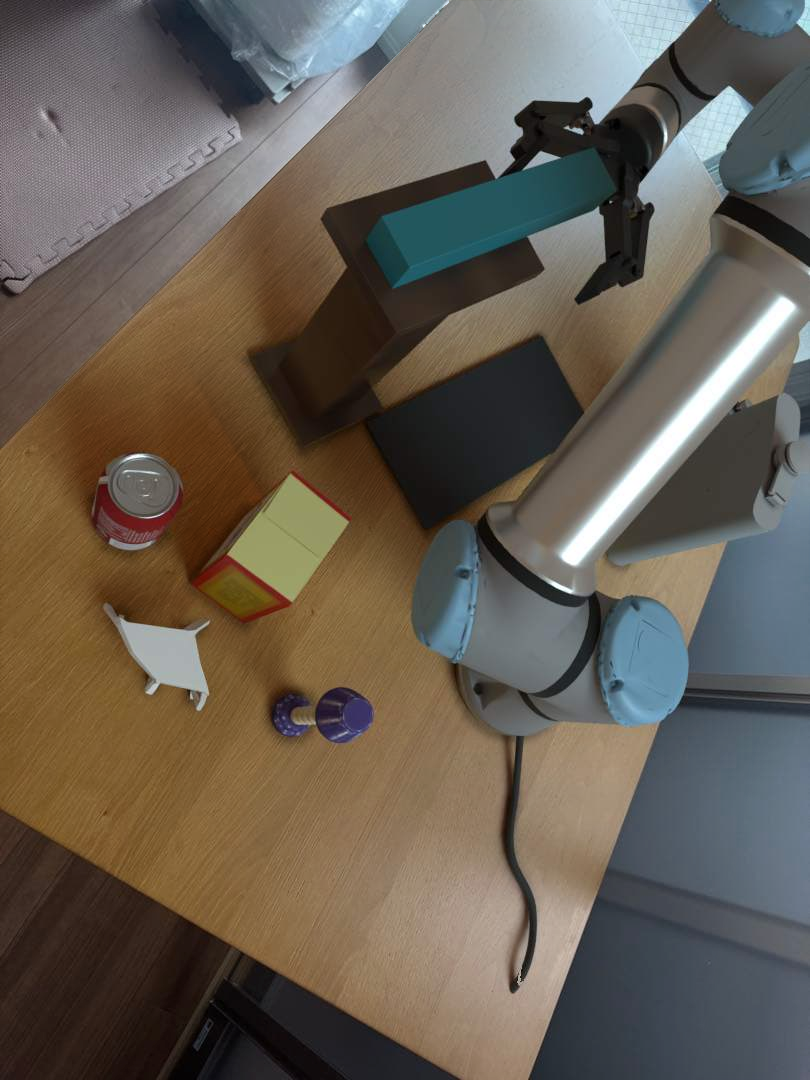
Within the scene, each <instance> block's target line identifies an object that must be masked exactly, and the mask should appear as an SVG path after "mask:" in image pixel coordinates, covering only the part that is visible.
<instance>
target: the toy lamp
mask: <svg viewBox="0 0 810 1080" xmlns="http://www.w3.org/2000/svg"><path fill="white" fill-rule="evenodd" d="M374 716H375V712H374V707H373V705H372V704H371V702H370V701H369V699H368V698H366V697H365V696H363V695H362V694H361V693H359V692H357V691H356V690H354V689H352V688H349V687H345V686H338V687H334V688H331V689H329V690H327V691H326V692H325V693H323V694H322V696H321V697H320V698H319V699H318V702H317V703H316V704H315V705H311V703H310V701H309V700H308V699H307V698H306V697H305V696H303V695H302V694H298V693H293V692H292V693H287V694H285V695H282V696H280V697H279V698H278V699H277V700H276V701H275V702H274V704H273V706H272V709H271V713H270V719H271V722H272V726H273V727H274V729H275V731H276V732H278V733H279V734H280V735H282V736H283V737H286V738H294V737H298V736H301V735H302V734H304V733H305V732H306V731H308V729H309V728H310V726H311V725H315V726H316V727H317V730H318V732H319V733H320V735H321V736H322V737H323V738H324V739H326V740H327V741H328V742H329V741H330V742H332V743H334V744H347V743H349V742H352V741H354V740H356V739H357V738H359V737H360V736H362V735H363V734H365V732H366V731H368V730H369V729H370V727H371V726H372V724H373V722H374Z"/></svg>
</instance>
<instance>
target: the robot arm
mask: <svg viewBox="0 0 810 1080" xmlns="http://www.w3.org/2000/svg"><path fill="white" fill-rule="evenodd" d="M805 7H806V0H710V1H709V2H708V3H707V5H706V6H705V7H703V9H702V10H701V12H700V13H698V14H697V16H696V17H695V18H694V19H693V20H692V21H691V23H690V24H689V25H688V26H687V27H686V28H685V30H684V31H683V32H682V33H681V34H679V36H678V37H677V38H676V39H675V40H674V41H673V42H671V43H670V44H669V46H667V48H665V50H664V51H663V52H662V53H661V54H660V55H659V56H658V57H657V58H656V59H654V60H653V62H652V63H651V64H650V65H649V66H648V67H647V68H646V69H644V71H643V72H642V74H641V75H640V76H639V77H638V79H637V80H636V82H634V84H632V86H631V88H630V89H629V90H628V91H627V92H626V93H625V94H624V95H623V96H622V98H620V100H619V101H617V103H616V104H615V105H614V106H613V107H612V108H611V109H610V110H609V111H608V113H607V114H606V115H605V116H604V117H603V118H602V119H601V120H600V122H598V123H595V122H594V120H593V118H592V115H591V113H590V110H592V109H593V107H594V104H593V103H594V102H593V100H592V99H591V97H588V96H585V97H584V98H583V99H581V100H579V101H559V100H557V101H556V100H532V101H530V103H528V104H527V105H526V106H524V108H522V109H521V110H520V111H519V112H518V113H516V114H515V115H514V117H513V122H514V124H515V126H517V127H518V128H519V129H521V130H522V135H521V136H520V137H519V138H517V139H516V141H515V143H514V144H513V145H512V146H511V147H510V149H509V153H510V155H511V157H512V158H513V159H514V161H512V163H510V165H509V166H508V167H507V168H506V169H504V171H503V172H502V173H501V174H500V175H499V176H498V177H497V178H500V177H504V176H507V175H510V174H513V173H516V172H519V171H522V170H525V168H526V167H527V166H528V165H529V164H530V162H532V161H533V160H534V158H535V157H536V156H537V155H538V154H539V153H540V152H542V153H545V154H549V155H551V156H554V157H558V158H562V157H565V156H568V155H571V154H574V153H578V152H581V151H584V150H587V149H590V148H593V147H594V148H595V149H596V151H597V153H598V155H599V157H600V159H601V161H602V162H603V164H604V166H605V168H606V170H607V172H608V174H609V175H610V177H611V179H612V181H613V183H614V185H615V187H616V189H617V190H616V191H615V192H614V193H613V194H612V195H611V196H610V197H608V198H607V199H606V200H605V201H604V202H603V203H602V204H601V205H599V206H598V213H599V215H600V216H602V217H603V237H604V253H605V256H604V257H605V261H604V262H602V263H601V264H599V265H598V266H597V268H596V269H595V270H594V272H593V273H592V275H591V276H590V277H589V279H588V280H587V281H586V282H585V284H584V285H583V287H582V288H581V289H580V291H579V292H578V293H577V294H576V296H575V297H574V301H575V303H576V304H577V306H580V305H582V304H584V303H586V302H588V301H590V300H592V299H594V298H596V297H598V296H600V295H601V294H602V293H603V292H606V291H608V290H610V289H612V288H614V287H616V286H617V285H618V286H619V287H620V288H624V287H626V286H629V285H630V284H633V283H635V282H637V281H639V280H641V279H643V278H644V274H645V267H646V257H647V248H648V241H649V240H648V239H649V231H650V230H649V229H650V222H651V220H652V217H653V215H654V214H655V211H656V209H655V205H654V204H653V202H651V201H649V202H647V203H643V201H642V200H641V198H640V196H639V195H638V194H639V191H640V190H639V189H640V184H641V183H642V182H643V181H644V180H645V178H646V177H647V176H648V175H649V174H650V172H651V171H652V170H653V168H654V167H655V166H656V164H657V162H658V161H660V159H661V158H662V157H663V155H664V154H665V153H666V151H667V150H668V148H669V147H670V145H671V144H672V143H673V141H674V140H675V139H676V138H677V136H678V135H679V134H680V132H681V131H682V130H683V129H684V128H685V127H686V126H687V125H688V124H689V123H690V122H691V121H692V120H693V119H694V118H695V117H696V116H697V115H698V114H699V113H700V112H702V111H703V109H705V107H707V106H708V105H709V104H710V103H711V102H712V101H713V100H715V99H716V98H717V97H719V95H720V94H721V93H723V92H724V91H725V90H727V88H728V87H730V88H731V89H732V90H734V91H735V92H736V93H737V94H738V95H739V96H741V98H743V99H744V100H745V101H746V102H747V103H749V104H750V106H751V107H752V109H751V110H750V111H749V112H748V114H747V115H746V116H745V117H744V118H743V120H741V122H740V124H739V125H738V126H737V128H736V129H735V130H734V132H733V133H732V135H731V136H730V138H729V140H728V141H727V143H726V145H725V146H726V147H725V151H724V153H722V155H721V156H720V159H719V163H718V175H719V178H720V180H721V184H722V187H723V188H724V190H726V191H728V192H727V194H726V196H725V197H724V198H723V200H722V201H721V203H720V204H719V205H718V206H717V208H716V209H715V210H714V212H713V213H712V214H711V215H710V217H709V219H708V221H709V233H710V234H709V236H710V246H709V252H708V254H707V255H706V256H705V257H704V259H702V261H701V262H700V264H698V265H699V266H697V268H696V269H695V270H694V272H693V273H692V274H691V276H690V277H689V278H688V279H687V280H686V281H685V283H684V284H683V286H682V287H681V288H680V289H679V291H678V292H677V293H676V294H675V296H674V297H673V298H672V300H671V301H670V302H669V304H668V305H667V306H666V307H665V309H664V310H663V311H662V312H661V314H660V315H659V316H658V318H657V319H656V320H655V321H654V322H653V324H652V326H651V327H650V328H649V329H648V331H646V333H645V334H644V335H643V337H642V338H641V340H640V341H639V342H638V343H637V345H635V347H634V349H633V350H632V351H631V352H630V353H629V355H628V356H627V358H626V359H625V360H624V361H623V362H622V364H621V365H620V366H619V368H618V369H617V370H616V371H615V373H614V374H613V375H612V377H611V378H610V379H609V380H608V382H607V383H606V384H605V385H604V387H603V388H602V389H601V391H600V392H599V393H598V394H597V396H596V397H595V398H594V400H593V401H592V402H591V403H590V405H589V406H588V407H587V409H586V410H585V411H584V414H583V415H582V416H581V418H580V419H579V420H578V422H577V423H576V424H575V425H574V427H573V428H572V429H571V431H570V432H569V433H568V434H567V436H566V437H565V438H564V440H563V441H562V442H561V443H560V445H559V446H558V447H557V449H556V450H555V451H554V452H553V453H551V454H550V455H549V457H548V459H546V461H545V462H544V463H543V465H542V466H541V467H540V469H539V470H538V471H537V473H536V474H535V475H534V477H532V479H531V480H530V482H529V483H528V484H527V486H526V487H525V488H524V489H523V491H522V492H521V493H520V494H519V496H518V497H517V498H516V499H515V500H510V501H499V502H494V503H491V504H490V505H489V506H488V507H487V508H486V510H485V511H484V512H483V514H482V515H481V516H480V518H479V519H478V521H476V523H475V524H472V522H470V521H468V520H462V519H453V520H451V521H449V523H446V524H445V525H444V526H442V527H441V529H440V530H439V531H438V532H437V533H436V535H435V536H434V538H433V540H432V542H431V543H430V545H429V546H428V548H427V551H426V552H425V555H424V557H423V559H422V562H421V564H420V567H419V570H418V573H417V577H416V579H415V584H414V588H413V593H412V598H411V606H410V620H411V627H412V631H413V634H414V635H415V637H416V639H417V640H418V642H419V643H420V644H421V645H422V646H424V647H425V648H427V649H428V650H431V651H433V652H435V653H437V654H439V655H440V656H443V657H445V658H446V659H447V661H448V662H450V663H452V664H455V675H456V683H457V687H458V690H459V694H460V696H461V698H462V700H463V702H464V704H465V706H466V707H467V709H468V711H469V713H470V714H471V715H472V716H473V717H474V718H475V720H477V721H478V722H479V723H480V724H481V725H482V726H483V727H485V728H487V729H489V730H490V731H491V732H494V733H496V734H499V735H503V736H508V737H509V736H510V737H515V748H514V761H513V762H514V763H513V773H512V784H511V794H510V802H509V808H508V813H507V814H508V815H507V821H506V830H505V844H506V846H505V847H506V854H507V859H508V863H509V866H510V869H511V871H512V874H513V875H514V877H515V879H516V881H517V883H518V884H519V886H520V888H521V890H522V891H523V894H524V897H525V899H526V902H527V907H528V920H529V921H528V923H529V925H528V940H527V946H526V951H525V954H524V958H523V961H522V964H521V966H522V969H521V968H520V969H521V976H520V978H521V981H520V982H522V981H523V982H525V980H526V978H527V976H528V973H529V971H530V969H531V966H532V963H533V959H534V955H535V951H536V945H537V936H538V935H537V934H538V911H537V904H536V900H535V896H534V893H533V891H532V888H531V886H530V885H529V883H528V880H527V879H526V877H525V875H524V874H523V872H522V869H521V867H520V865H519V863H518V861H517V860H518V859H517V857H516V851H515V826H516V825H515V824H516V816H517V812H518V804H519V796H520V785H521V777H522V776H521V775H522V766H523V765H522V764H523V753H524V739H525V737H528V736H532V735H536V734H537V735H538V734H540V733H542V732H544V731H546V730H548V729H550V728H552V727H553V726H554V725H557V724H559V723H561V722H562V723H577V724H596V725H597V724H599V725H614V726H615V725H617V726H618V725H619V726H622V727H627V728H633V727H638V726H648V725H654V724H657V723H660V722H661V721H663V720H665V719H666V717H667V716H668V715H669V714H672V713H673V712H674V710H675V709H676V708H677V707H678V705H679V704H680V702H681V700H682V697H683V695H684V693H685V691H686V687H687V682H688V677H689V652H688V646H687V643H686V641H685V639H684V634H683V633H684V632H683V629H682V627H681V625H680V622H679V621H678V619H677V618H676V617H675V615H674V614H673V612H672V611H671V610H670V609H669V608H668V607H667V606H666V605H665V604H663V603H662V602H661V601H659V600H657V599H655V598H653V597H650V596H649V597H648V596H643V595H642V596H641V595H640V596H639V595H634V594H630V595H625V596H623V597H622V598H616V597H611V596H610V595H606V594H605V593H603V592H601V591H599V590H597V587H598V579H597V570H596V569H597V568H596V563H597V562H598V561H599V560H600V558H601V557H602V556H603V555H604V554H605V553H607V552H606V550H607V549H608V548H609V547H610V546H611V545H612V544H613V542H614V541H615V540H616V539H617V538H618V537H619V536H620V535H621V533H622V532H623V531H624V530H625V529H626V528H627V527H628V526H629V524H630V523H631V522H632V521H633V520H634V519H635V518H636V516H637V515H638V514H639V513H640V512H641V511H642V510H643V509H644V507H645V506H646V505H647V504H648V503H649V502H650V501H651V499H652V498H653V497H654V496H655V495H656V494H657V493H658V492H659V490H660V489H661V488H662V487H663V486H664V485H665V484H666V482H667V481H668V480H669V479H670V478H671V477H672V476H673V475H674V473H675V472H676V471H677V470H678V469H679V468H680V467H681V465H682V464H683V463H684V462H685V461H686V460H687V459H688V458H689V456H690V455H691V454H692V453H693V452H694V451H695V450H696V448H697V447H698V446H699V445H700V444H701V443H702V442H703V441H704V439H705V438H706V437H707V436H708V435H709V434H710V433H711V431H712V430H713V429H714V428H715V427H716V426H717V425H718V424H719V422H720V421H721V420H722V419H723V418H724V417H725V416H726V415H727V413H728V412H729V411H730V410H731V409H732V408H733V407H734V405H735V404H736V403H737V402H738V401H739V402H740V400H741V399H742V398H743V397H744V396H745V394H746V393H747V392H748V391H749V390H750V388H752V386H753V385H754V384H755V383H756V381H758V380H759V379H760V377H761V376H762V375H763V374H764V373H765V372H766V371H767V370H768V368H769V367H770V366H771V365H772V364H773V363H774V362H775V360H776V359H777V358H778V357H779V356H780V354H781V353H782V352H783V351H785V349H786V348H787V347H788V345H789V344H790V343H791V342H792V341H793V340H794V339H795V338H796V337H797V335H798V334H799V333H800V332H801V331H802V330H803V329H804V328H805V326H806V325H807V324H808V323H809V322H810V35H809V34H808V33H807V31H805V30H804V28H802V26H800V25H799V23H798V21H799V20H800V19H801V17H802V16H803V14H804V13H805ZM567 127H568V129H567ZM573 129H580V130H581V131H582V132H583V133H582V134H581V133H579V132H576V131H573ZM518 975H519V972H518V973H517V975H516V976H515V979H514V980H513V981H512V982H511V983H510V987H509V992H510V994H515V993H517V991H518V990H519V989H520V987H521V986H522V985H523V983H522V984H521V986H519V985H518V983H517V981H518ZM524 979H525V980H524Z"/></svg>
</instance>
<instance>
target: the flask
mask: <svg viewBox="0 0 810 1080" xmlns="http://www.w3.org/2000/svg"><path fill="white" fill-rule="evenodd" d="M800 429H801V408H800V407H799V405H798V402H797V401H796V400H795V399H794V397H793V396H791V395H790V394H788V393H786V392H782V393H780V394H776V395H774V396H772V397H770V398H767V399H765V400H762V401H760V402H758V403H756V404H753V406H750V407H748V408H745V409H743V410H741V411H738V412H736V413H733V414H731V415H729V416H726V417H724V418H723V419H722V420H721V421H720V422H719V424H718V425H717V426H716V427H715V428H714V429H713V430H712V431H711V433H710V434H709V435H708V436H707V437H706V438H705V439H704V441H703V442H702V443H701V444H700V445H699V446H698V447H697V448H696V450H695V451H694V452H693V453H692V454H691V455H690V456H689V458H688V459H687V460H686V461H685V462H684V463H683V464H682V465H681V467H680V468H679V469H678V470H677V471H676V472H675V473H674V475H673V476H672V477H671V478H670V479H669V480H668V481H667V482H666V484H665V485H664V486H663V487H662V488H661V489H660V490H659V492H658V493H657V494H656V495H655V496H654V497H653V498H652V499H651V501H650V502H649V503H648V504H647V505H646V506H645V507H644V509H643V510H642V511H641V512H640V513H639V514H638V515H637V516H636V518H635V519H634V520H633V521H632V522H631V523H630V524H629V526H628V527H627V528H626V529H625V530H624V531H623V532H622V533H621V535H620V536H619V537H618V538H617V539H616V540H615V541H614V542H613V544H612V545H611V546H610V547H609V548H608V549H607V550H606V552H605V553H606V555H607V558H608V559H609V561H610V562H612V564H614V565H616V566H620V567H622V566H626V565H630V564H634V563H635V564H636V563H638V562H643V561H647V560H652V559H657V558H661V557H664V556H669V555H674V554H678V553H683V552H687V551H691V550H697V549H700V548H704V547H709V546H713V545H717V544H721V543H726V542H730V541H735V540H738V539H743V538H747V537H752V536H756V535H760V534H764V533H768V532H773V531H775V530H776V529H777V527H778V526H779V524H780V521H781V519H782V515H783V513H784V509H785V508H786V507H787V506H788V503H789V500H790V498H791V495H792V493H793V489H794V487H795V484H796V481H797V479H798V476H799V475H806V474H809V473H810V447H809V446H808V444H807V443H806V442H804V441H802V440H800Z"/></svg>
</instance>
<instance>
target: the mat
mask: <svg viewBox="0 0 810 1080" xmlns="http://www.w3.org/2000/svg"><path fill="white" fill-rule="evenodd" d="M584 413H585V411H584V409H583V407H582V406H581V404H580V402H579V400H578V398H577V396H576V395H575V392H574V391H573V388H571V386H570V383H569V382H568V380H567V378H566V376H565V374H564V372H563V371H562V369H561V367H560V365H559V363H558V362H557V360H556V358H555V357H554V355H553V353H552V351H551V349H550V347H549V345H548V343H547V342H546V339H545V338H544V336H543V335H540V336H538V337H537V338H535V339H533V340H531V341H528V342H526V343H524V344H523V345H520V346H518V347H517V348H513V349H512V350H510V351H508V352H505V353H504V354H502V355H499V356H498V357H496V358H494V359H492V360H490V361H488V362H486V363H484V364H481V365H480V366H478V367H476V368H474V369H472V370H469V371H468V372H466V373H464V374H462V375H459V376H457V377H455V378H453V379H451V380H449V381H447V382H445V383H443V384H441V385H439V386H437V387H435V388H432V389H431V390H429V391H427V392H425V393H422V394H421V395H418V396H417V397H415V398H412V399H410V400H408V401H406V402H405V403H402V404H400V405H398V406H396V407H394V408H392V409H390V410H388V411H386V412H384V413H382V414H380V415H378V416H376V417H373V418H372V419H369V420H368V421H366V422H364V425H365V427H366V429H367V431H368V433H369V434H370V436H371V438H372V440H373V441H374V443H375V444H376V447H377V448H378V450H379V452H380V454H381V455H382V457H383V459H384V460H385V463H386V464H387V466H388V467H389V469H390V472H391V473H392V475H393V477H394V478H395V480H396V481H397V483H398V486H399V487H400V489H401V491H402V493H403V494H404V496H405V498H406V499H407V501H408V503H409V505H410V507H411V508H412V510H413V512H414V514H415V515H416V517H417V519H418V520H419V523H420V524H421V526H422V528H423V530H424V531H427V530H429V529H430V528H432V527H433V526H435V525H437V524H438V523H440V522H442V521H444V520H445V519H446V518H448V517H450V516H452V515H453V514H455V513H456V512H458V511H460V510H461V509H463V508H464V507H466V506H467V505H469V504H472V503H473V502H474V501H477V500H478V499H480V498H481V497H483V496H484V495H486V494H487V493H489V492H491V491H493V490H494V489H496V488H498V487H499V486H500V485H502V484H504V483H506V482H507V481H509V480H511V479H513V478H515V476H517V475H519V474H520V473H522V472H523V471H525V470H527V469H528V468H530V467H532V466H534V465H535V464H537V463H538V462H540V461H541V460H543V459H545V458H547V457H548V456H551V455H552V454H553V452H554V451H555V450H556V449H557V447H558V446H559V445H560V443H561V442H562V441H563V440H564V438H565V437H566V436H567V434H568V433H569V432H570V431H571V429H572V428H573V427H574V425H575V424H576V423H577V422H578V420H579V419H580V418H581V416H582V415H583V414H584Z"/></svg>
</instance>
